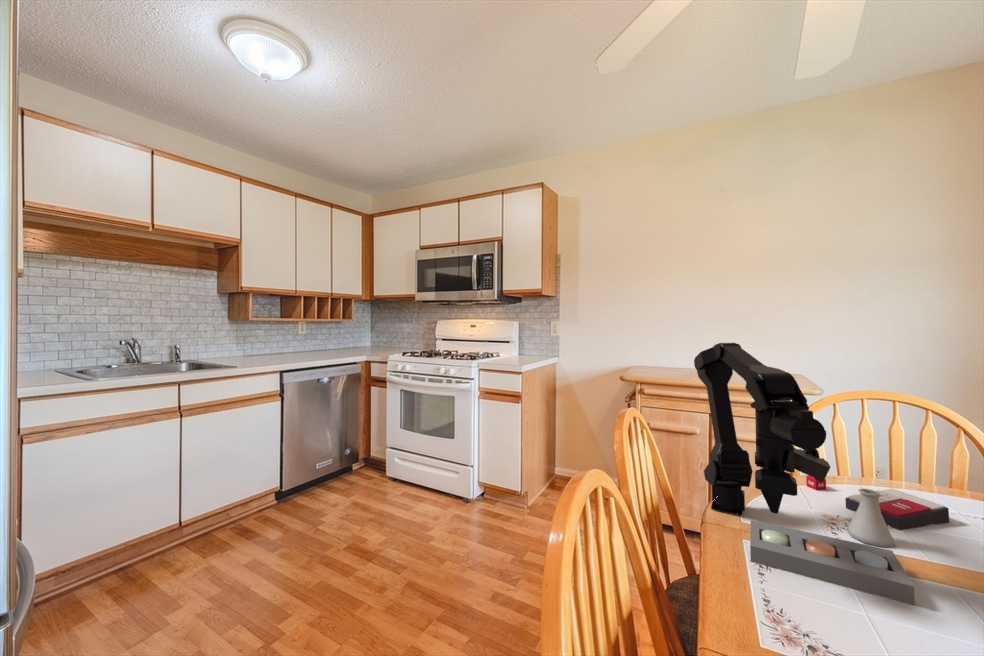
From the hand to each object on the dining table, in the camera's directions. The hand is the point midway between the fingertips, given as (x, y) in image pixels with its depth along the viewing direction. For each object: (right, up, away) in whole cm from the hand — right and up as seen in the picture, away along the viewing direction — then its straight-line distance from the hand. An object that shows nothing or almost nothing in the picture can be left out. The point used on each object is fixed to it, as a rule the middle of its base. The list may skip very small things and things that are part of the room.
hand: (774, 512), depth 77 cm
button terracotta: (+6, -8, -4) cm, 10 cm away
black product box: (+39, -8, +14) cm, 43 cm away
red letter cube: (+34, -8, +30) cm, 46 cm away
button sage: (0, -8, 0) cm, 8 cm away
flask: (+24, -8, +5) cm, 25 cm away
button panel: (+6, -8, -4) cm, 10 cm away
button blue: (+12, -7, -8) cm, 16 cm away
